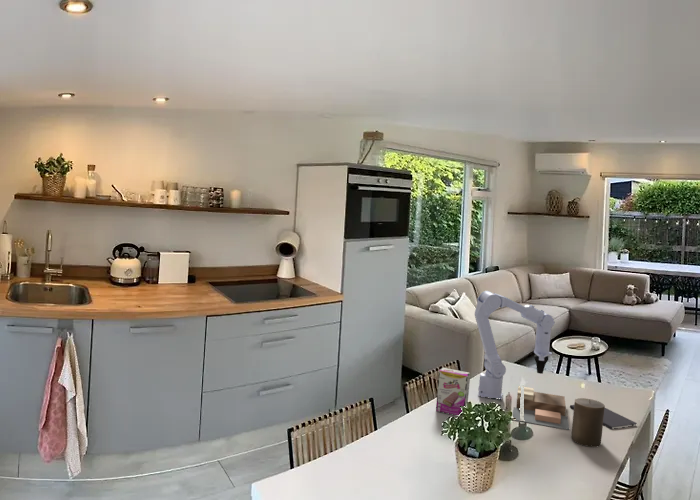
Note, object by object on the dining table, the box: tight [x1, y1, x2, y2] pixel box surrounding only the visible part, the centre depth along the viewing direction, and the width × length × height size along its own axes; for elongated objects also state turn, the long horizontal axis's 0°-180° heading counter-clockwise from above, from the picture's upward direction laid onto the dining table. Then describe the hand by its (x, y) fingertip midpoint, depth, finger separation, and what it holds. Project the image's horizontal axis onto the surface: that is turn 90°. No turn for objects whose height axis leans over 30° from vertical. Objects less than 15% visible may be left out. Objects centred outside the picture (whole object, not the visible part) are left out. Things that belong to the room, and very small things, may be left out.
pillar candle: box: [570, 397, 606, 448], centre depth 188 cm, size 10×10×15 cm
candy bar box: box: [435, 367, 471, 416], centre depth 207 cm, size 11×5×16 cm, turn 65°
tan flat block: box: [515, 391, 567, 416], centre depth 218 cm, size 18×12×4 cm, turn 71°
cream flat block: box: [516, 385, 535, 400], centre depth 219 cm, size 9×6×2 cm, turn 161°
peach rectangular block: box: [535, 409, 561, 424], centre depth 206 cm, size 9×6×2 cm, turn 71°
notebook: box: [569, 404, 637, 430], centre depth 212 cm, size 13×2×21 cm
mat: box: [512, 406, 570, 431], centre depth 207 cm, size 20×13×1 cm, turn 71°
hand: (539, 373), depth 229 cm, fingers closed
